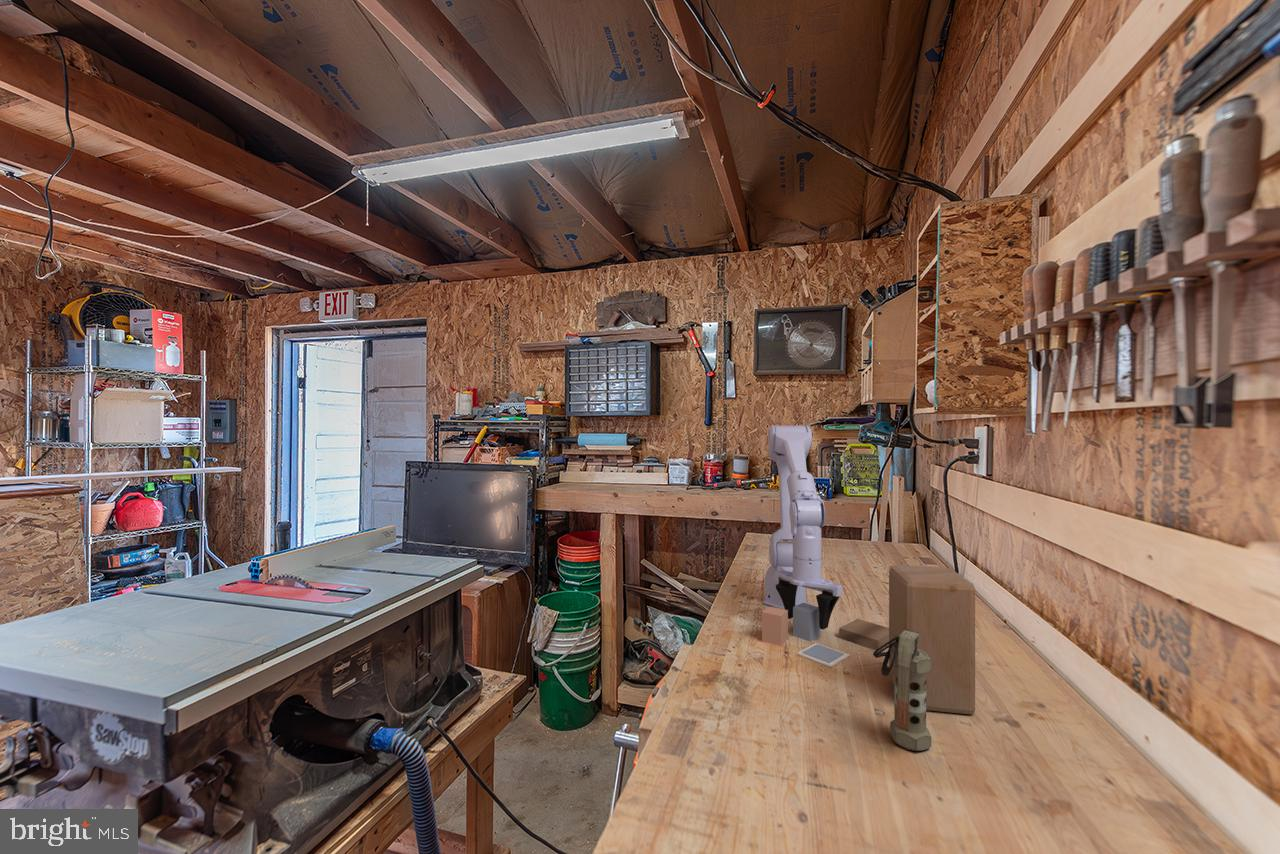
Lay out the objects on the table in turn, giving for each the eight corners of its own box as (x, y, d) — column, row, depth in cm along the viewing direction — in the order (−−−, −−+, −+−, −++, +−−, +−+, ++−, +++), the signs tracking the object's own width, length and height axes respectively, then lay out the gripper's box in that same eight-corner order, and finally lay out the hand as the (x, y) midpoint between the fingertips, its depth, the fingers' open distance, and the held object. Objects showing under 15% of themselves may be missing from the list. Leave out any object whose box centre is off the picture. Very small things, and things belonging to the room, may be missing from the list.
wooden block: (978, 718, 76) (978, 583, 76) (905, 710, 78) (905, 579, 78) (951, 685, 86) (951, 566, 86) (887, 679, 88) (887, 563, 88)
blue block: (792, 635, 106) (793, 606, 106) (803, 630, 109) (803, 602, 109) (810, 641, 103) (810, 612, 103) (820, 636, 106) (820, 607, 106)
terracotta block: (761, 641, 103) (762, 612, 103) (768, 635, 106) (768, 606, 106) (781, 646, 101) (781, 616, 101) (787, 639, 104) (787, 610, 104)
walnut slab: (839, 640, 105) (839, 628, 105) (857, 630, 110) (857, 618, 110) (878, 653, 99) (878, 640, 99) (895, 642, 104) (895, 629, 104)
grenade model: (881, 723, 74) (881, 620, 74) (934, 742, 70) (934, 633, 70) (866, 743, 70) (867, 633, 70) (923, 765, 65) (923, 648, 65)
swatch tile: (796, 654, 97) (796, 651, 97) (815, 644, 102) (815, 641, 102) (831, 667, 92) (831, 664, 92) (849, 656, 96) (849, 653, 96)
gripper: (766, 553, 109) (766, 617, 109) (829, 567, 98) (829, 638, 98) (784, 548, 113) (784, 609, 113) (847, 561, 103) (847, 629, 102)
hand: (806, 622), depth 106 cm, fingers open, 7 cm apart
